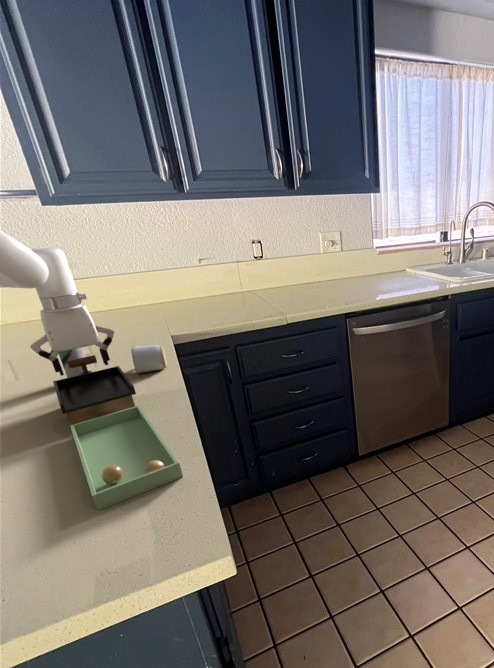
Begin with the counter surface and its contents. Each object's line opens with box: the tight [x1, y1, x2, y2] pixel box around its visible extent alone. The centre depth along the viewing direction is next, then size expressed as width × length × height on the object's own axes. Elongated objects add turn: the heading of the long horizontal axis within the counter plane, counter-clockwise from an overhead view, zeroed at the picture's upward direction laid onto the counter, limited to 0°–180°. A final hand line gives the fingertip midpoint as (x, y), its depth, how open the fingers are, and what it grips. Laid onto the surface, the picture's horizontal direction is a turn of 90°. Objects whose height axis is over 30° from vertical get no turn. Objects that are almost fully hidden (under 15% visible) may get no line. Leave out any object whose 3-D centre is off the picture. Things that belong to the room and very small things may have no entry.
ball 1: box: [101, 465, 123, 484], centre depth 74 cm, size 3×3×3 cm
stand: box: [66, 395, 136, 425], centre depth 103 cm, size 13×14×4 cm
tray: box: [69, 405, 184, 511], centre depth 82 cm, size 13×31×3 cm, turn 40°
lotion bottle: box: [58, 347, 92, 378], centre depth 116 cm, size 6×6×20 cm
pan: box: [52, 354, 137, 415], centre depth 101 cm, size 14×23×5 cm, turn 40°
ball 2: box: [145, 460, 165, 474], centre depth 75 cm, size 3×3×3 cm
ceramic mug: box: [131, 344, 168, 374], centre depth 125 cm, size 11×8×8 cm
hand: (84, 368), depth 108 cm, fingers open, 9 cm apart
